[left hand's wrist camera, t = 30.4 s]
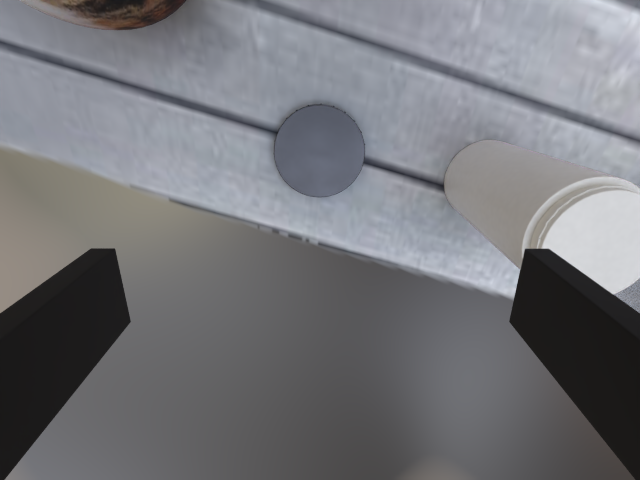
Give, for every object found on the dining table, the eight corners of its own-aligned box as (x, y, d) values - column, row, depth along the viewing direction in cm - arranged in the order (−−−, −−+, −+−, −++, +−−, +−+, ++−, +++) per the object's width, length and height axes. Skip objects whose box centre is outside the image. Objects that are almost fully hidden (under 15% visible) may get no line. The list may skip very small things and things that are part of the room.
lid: (381, 159, 40) (383, 162, 39) (311, 210, 43) (311, 214, 41) (328, 83, 38) (329, 83, 36) (256, 142, 40) (254, 144, 38)
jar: (448, 139, 40) (548, 181, 22) (530, 139, 40) (693, 181, 22) (439, 217, 43) (520, 307, 26) (515, 217, 43) (648, 306, 26)
